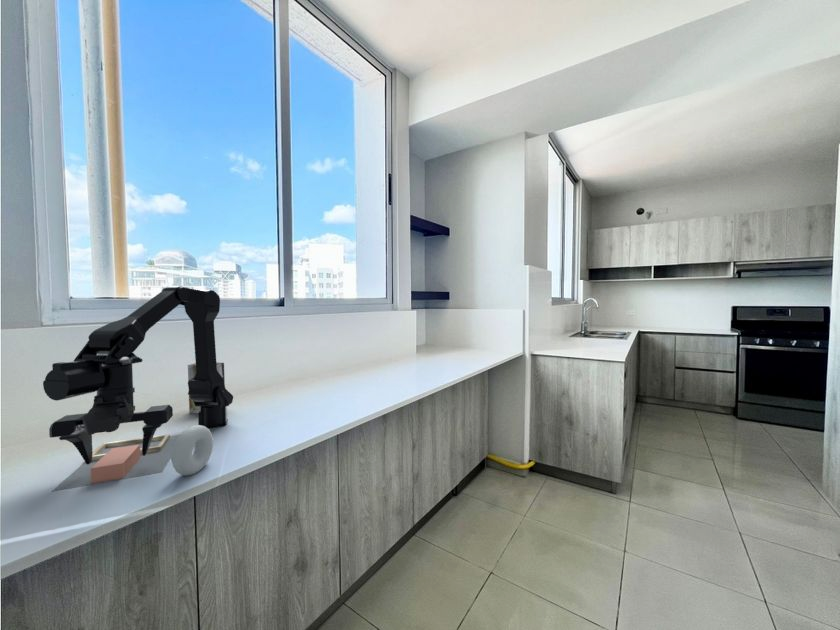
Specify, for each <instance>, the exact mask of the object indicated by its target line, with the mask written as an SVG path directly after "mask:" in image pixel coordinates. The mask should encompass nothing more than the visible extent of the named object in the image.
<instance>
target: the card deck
mask: <svg viewBox="0 0 840 630" xmlns="http://www.w3.org/2000/svg"><path fill="white" fill-rule="evenodd" d="M139 458H140V445H133V446H126V447H119V448H112V449H111V450H110V451H109V452H108V453H107V454H105V455H104V456H103V457H102V458H101V459H100V460H99V461H98V462H97V463H96V464H95V465H94V466H93V467H92V468H91V483H96V482H102V481H108V480H113V479H119V478H124V477H125V475H126V474H127V473H128V472H129V471H130V469H131V468H132V467H133V466H134V464H135V463H136V462H137V461H138V460H139Z"/></svg>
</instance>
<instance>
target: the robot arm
mask: <svg viewBox="0 0 840 630" xmlns="http://www.w3.org/2000/svg"><path fill="white" fill-rule="evenodd" d="M220 305H221V297H220V295H219V294H218V293H217V292H216V291H215V290H212V289H193V288H190V287H185V286H183V285H177V286H176V285H171V286H169V285H168V286H166V287H163V288H162V290H161V291H160V292H159V293H158V294H156V295H155V296H153V297H152V298H151V299H150V300H147V301H146V303H144V304H142V305H141V306H139V307H138V308H137V309H136V310H134V311H133V312H132V313H130V314H129V315H127V316H126V317H124V318H122V319H119V320H115V321H113V322H109V323H107V324H105V325H102V326H101V327H98V328H97V329H95V330H92V332H91V333H90V334H89V336H88V341H87V342H86V343H85V345H84V346H83V347H82V348H81V350H80V351H79V353H78V354H77V355H76V357H75V358H74V360H73V361H68V362H67V361H66V362H54V363H52V366H51V367H52V370H50V371H48V372H47V374H46V375H45V378H44V380H43V382H42V385H43V390H44V393H45V394H46V396H47V397H48V398H49V399H51V400H53V401H62V400H66V399H69V398H75V397H78V396H79V397H80V396H84V395H88V394H92V393H95V392H96V395H94V396H93V405H92V407H91V408H90V409H89V410H88V411H87V413H86V412H85V413H77V414H67V415H64V416H62V417H61V418H58V419H57V420H55V421H53V423H51V424H50V426H49V427H48V428H49V429H48V430H49V431H48V432H49V434H48V435H49V438H58V439H59V440H60V441H67V442H69V443H71V444H73V445H74V447H75V448H76V449H77V451H78V452H79V454H80V456H81V457H82V459H83V461H84V462H86V464H90V463H91V462H92V452H93V435H95V434H100V433H111V432H115V431H117V430H118V429H119V428H120V425H121V424H126V423H134V422H136V423H137V422H143V424H144V426H143V427H142V428H141V430H142V438H143V445H142V454H143V456H145V455H146V454H147V451H148V448H149V446H150V443H151V441H152V438H153V436H155V433H156V431H157V429H158V428H161V426H163V425H164V424H167V423H168V422H169V421H170V419H172V417H173V415H174V414H173V413H174V412H173V410H174V409H173V407H172V405H170V404H164V405H154V406H150V407H149V408H148V409H147V410H146V411H139V412H135V411H136V405H134V393H136V392H135V387H134V378H133V377H134V376H133V375H134V374H133V364H139V363H142V362H143V358H141V357H139V356H138V355H136V354H135V353H134V352H135V351H136V350H137V349H138V348H139V347H140V346H141V344H142V343H143V342H144V341H145V337H146V333H147V332H149V330H150V329H151V328H152V327H153V326H154V325H156V324H157V323H158V322H160V321H161V320H162V319H164V318H165V317H166V316H167V315H168V314H169V313H171V312H172V311H173V310H175V308H177V307H178V306H184V312H185V314H186V315H187V316H188V318H189V319H190V320H191V322H192V328H193V343H194V357H195V358H194V359H195V363H196V374H195V376H194V378H193V379H192V380H189V381H188V380H187V387H188V392H187V395H188V396H189V395H190V397H191V399H192V400H193V402H194V405H195V406H196V407H197V406H201V408H200V411H199V413H197V415H198V416H197V418H198V419H197V422H198V424H197V425H201V426H205V427H207V428H208V429H209V430H210V429H215V428H223V427H227V425H228V421H229V419H228V408H227V407H230V405H231V404H233V401H234V395H233V394H232V393H231V392H230V391H229V390H227V388H226V384H224V379H223V378H222V376H221V375H220V374H219V372H218V371H217V364H216V362H217V351H216V350H217V349H216V337H215V319H216V318H217V317H218V314H219V313H220V309H221V308H220V307H221V306H220Z"/></svg>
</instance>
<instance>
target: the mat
mask: <svg viewBox="0 0 840 630" xmlns="http://www.w3.org/2000/svg"><path fill="white" fill-rule="evenodd" d="M181 434H182V433H180V434H173V435H170V439H169V440H168V441H167V443H166V444H165V446H164V447H163V448H162V450H161V451H156V452H150V453H147V454H146V455H145V456H143V454H140V458H139V460H138V461H137V462H136V463H135V464H134V466H133V467H132V468H131V469H130V471H129V472H128V473H127V474H126V475H125V477H124V478H119V479H113V480H108V481H102V482H96V483H91V468H92V467H93V466H94V465H95V464H96V463H97V462H98V461H99V460H97V461H92V462H91V463H90V464H86V462H85V461H84V463H82V464H81V465H80V466H78V468H76V469H75V470H74V471H73V472H71V474H69V476H67V477H66V478H65V479H64V480H62V482H60V483H59V484H58V485H57V486H55V488H53V489H52V490H51V492H55V491H56V492H57V491H63V490H68V489H69V490H70V489H75V488H79V487H80V488H81V487H84V486H91V485H96V484H103V483H108V482H114V481H120V480H127V479H132V478H136V477H137V478H138V477H143V476H148V475H154V474H160V473H163V472H164V470H165V468H166V467H167V465H168V463H169V462H170V461H171V460H172V451H173V448H174V445H175V443H176V441H177V439H178V437H179V436H180V435H181ZM161 441H162V440H158V441H151V443H150V446H149V447H154V446H158V445H159V443H160V442H161ZM133 445H140V449H141V448H142V445H143V443H137V444H129V445H122V446H115V447H108V448H105V449H104V450H103V451H102V452H101V453H99V454H106V453H108V452H109V451H110V450H111V449H112V448H119V447H126V446H133ZM99 454H98V455H99Z"/></svg>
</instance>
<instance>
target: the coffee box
mask: <svg viewBox="0 0 840 630" xmlns="http://www.w3.org/2000/svg"><path fill="white" fill-rule="evenodd" d="M216 364H217V371H218V372H219V374H220V375H221V376H222V378H223V379H224V384H225V382H226V381H225V363H224V362H218V361H216ZM195 374H196V362H195V363H190V364H187V379H188V380H187V382H188V381H189V380H192V379H193V378H194V376H195ZM225 385H226V384H225ZM188 405H189V407H188V411H189V412H188V413H190V414H198V413H199V411H200V408H201V406H197V407H196V406H195V405H194V402H193V400H192V399H191V397H190V395H188Z"/></svg>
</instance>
